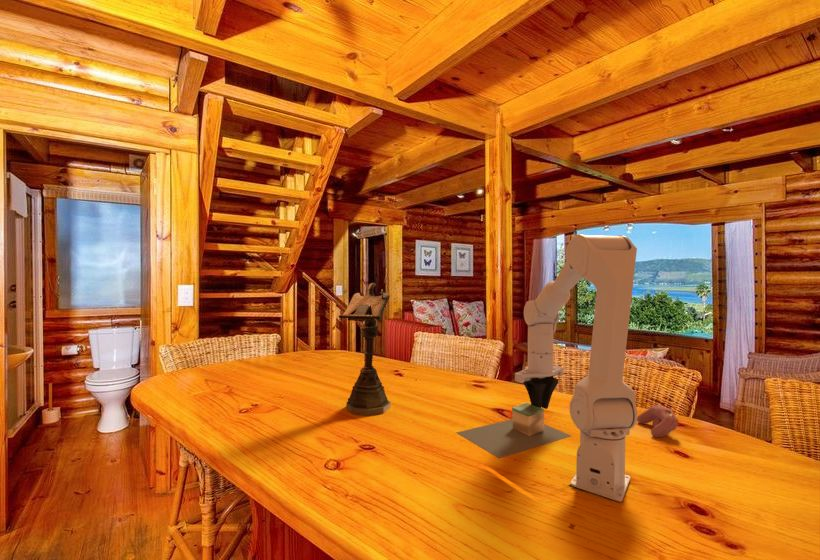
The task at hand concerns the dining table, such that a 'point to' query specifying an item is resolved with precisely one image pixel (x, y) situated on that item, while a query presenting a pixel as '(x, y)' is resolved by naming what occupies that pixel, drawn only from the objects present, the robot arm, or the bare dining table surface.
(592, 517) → the dining table surface
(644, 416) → the video game controller
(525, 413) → the birch block
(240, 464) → the dining table surface
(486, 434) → the rubber mat
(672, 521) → the dining table surface
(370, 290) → the book stand
